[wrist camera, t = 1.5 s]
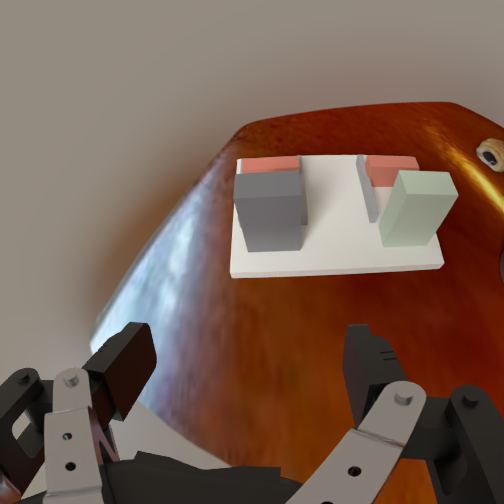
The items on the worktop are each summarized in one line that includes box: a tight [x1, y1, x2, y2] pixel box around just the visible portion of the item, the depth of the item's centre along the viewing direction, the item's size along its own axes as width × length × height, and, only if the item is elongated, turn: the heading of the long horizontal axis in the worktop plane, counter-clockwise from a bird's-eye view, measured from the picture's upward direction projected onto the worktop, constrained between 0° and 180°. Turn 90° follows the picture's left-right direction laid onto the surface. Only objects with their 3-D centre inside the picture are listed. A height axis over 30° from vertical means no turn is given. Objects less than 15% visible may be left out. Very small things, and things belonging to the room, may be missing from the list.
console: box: [230, 155, 444, 278], centre depth 37 cm, size 26×18×6 cm
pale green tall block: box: [379, 170, 458, 247], centre depth 30 cm, size 6×3×10 cm, turn 89°
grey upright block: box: [233, 171, 301, 252], centre depth 32 cm, size 6×3×10 cm, turn 89°
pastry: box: [476, 138, 504, 173], centre depth 40 cm, size 9×7×4 cm
